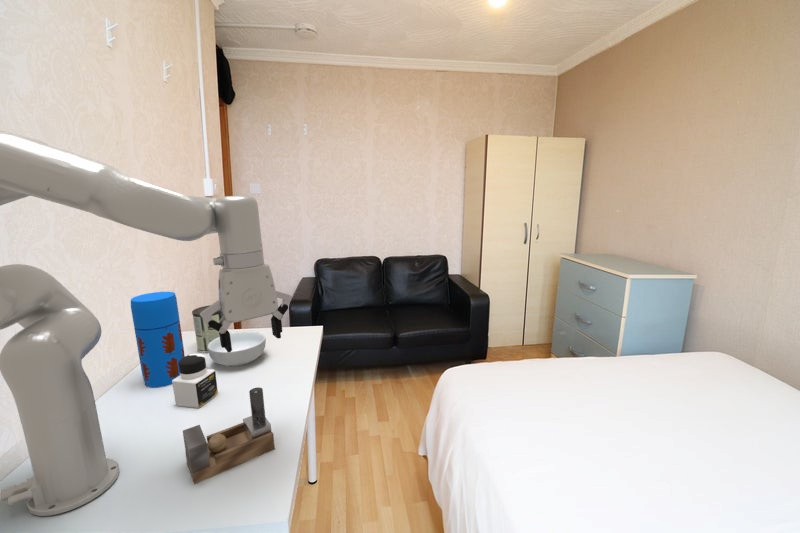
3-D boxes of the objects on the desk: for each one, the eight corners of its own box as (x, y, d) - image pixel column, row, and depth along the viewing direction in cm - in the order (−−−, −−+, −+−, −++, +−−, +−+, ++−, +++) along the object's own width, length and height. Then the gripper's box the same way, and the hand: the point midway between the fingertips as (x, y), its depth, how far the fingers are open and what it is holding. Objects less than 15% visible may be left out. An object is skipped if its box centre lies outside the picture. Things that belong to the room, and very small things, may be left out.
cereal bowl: (231, 378, 106) (228, 356, 105) (199, 365, 115) (196, 344, 114) (278, 356, 121) (276, 336, 119) (246, 346, 129) (244, 327, 128)
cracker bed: (194, 484, 67) (189, 450, 66) (186, 460, 73) (182, 429, 72) (274, 448, 76) (271, 418, 75) (262, 430, 82) (259, 402, 81)
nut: (210, 459, 71) (208, 443, 70) (207, 450, 73) (205, 435, 73) (229, 451, 73) (227, 436, 72) (225, 442, 75) (223, 428, 75)
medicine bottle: (199, 408, 91) (193, 364, 89) (175, 406, 93) (168, 362, 91) (218, 393, 98) (213, 352, 96) (195, 391, 100) (190, 350, 97)
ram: (252, 444, 74) (247, 400, 72) (244, 430, 79) (239, 389, 77) (272, 436, 77) (267, 393, 75) (262, 423, 81) (258, 382, 79)
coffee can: (218, 339, 136) (214, 303, 134) (235, 344, 131) (231, 307, 128) (190, 349, 128) (185, 310, 125) (207, 355, 122) (202, 315, 120)
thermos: (190, 367, 114) (179, 289, 109) (183, 383, 104) (171, 298, 99) (149, 373, 110) (136, 293, 105) (138, 391, 100) (123, 303, 96)
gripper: (197, 270, 63) (210, 362, 66) (293, 256, 73) (301, 336, 77) (189, 264, 69) (202, 349, 72) (279, 252, 79) (287, 327, 82)
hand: (253, 342), depth 74 cm, fingers open, 9 cm apart
